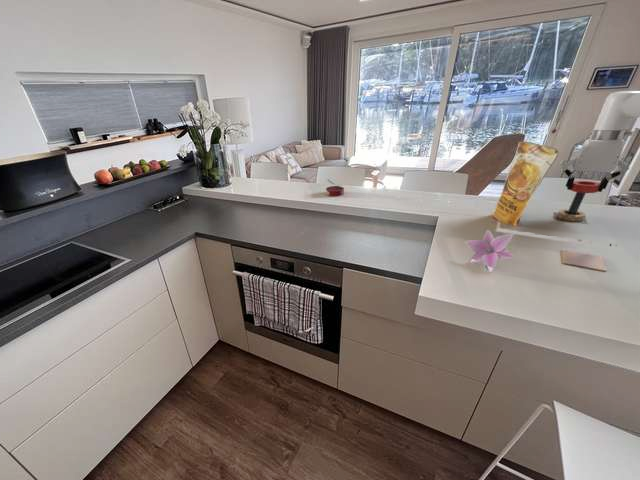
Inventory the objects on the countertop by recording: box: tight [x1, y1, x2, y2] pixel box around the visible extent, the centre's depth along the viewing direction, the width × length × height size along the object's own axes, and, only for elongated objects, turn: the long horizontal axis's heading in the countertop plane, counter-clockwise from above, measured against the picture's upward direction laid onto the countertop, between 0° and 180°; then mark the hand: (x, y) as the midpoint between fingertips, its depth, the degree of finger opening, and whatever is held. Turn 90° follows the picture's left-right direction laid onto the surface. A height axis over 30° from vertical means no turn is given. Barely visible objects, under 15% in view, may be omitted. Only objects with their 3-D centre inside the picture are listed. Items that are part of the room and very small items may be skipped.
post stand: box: [553, 192, 588, 225], centre depth 105 cm, size 9×9×11 cm
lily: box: [464, 229, 515, 269], centre depth 86 cm, size 12×12×10 cm
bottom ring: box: [557, 208, 586, 222], centre depth 106 cm, size 7×7×2 cm
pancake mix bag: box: [492, 140, 559, 227], centre depth 105 cm, size 7×19×28 cm, turn 170°
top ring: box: [569, 180, 601, 194], centre depth 101 cm, size 7×7×2 cm
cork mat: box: [560, 249, 607, 272], centre depth 84 cm, size 9×9×1 cm
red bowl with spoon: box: [325, 178, 345, 197], centre depth 159 cm, size 11×10×10 cm
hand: (583, 189), depth 101 cm, fingers closed on top ring, 7 cm apart
